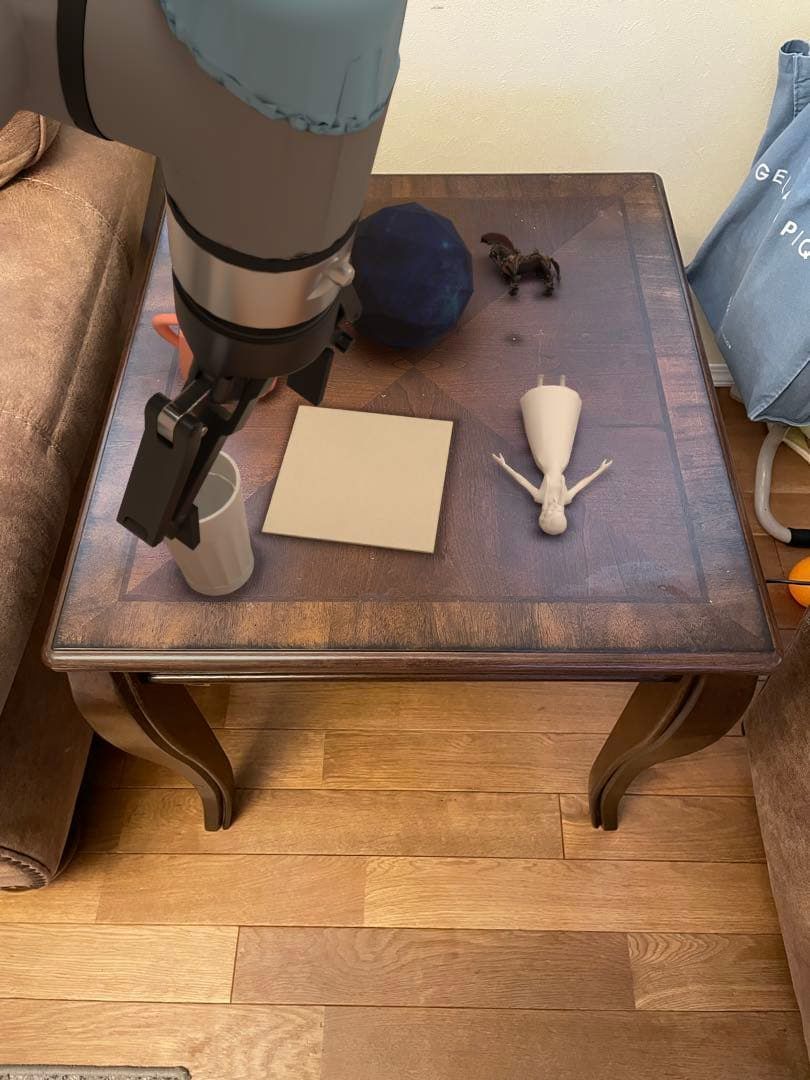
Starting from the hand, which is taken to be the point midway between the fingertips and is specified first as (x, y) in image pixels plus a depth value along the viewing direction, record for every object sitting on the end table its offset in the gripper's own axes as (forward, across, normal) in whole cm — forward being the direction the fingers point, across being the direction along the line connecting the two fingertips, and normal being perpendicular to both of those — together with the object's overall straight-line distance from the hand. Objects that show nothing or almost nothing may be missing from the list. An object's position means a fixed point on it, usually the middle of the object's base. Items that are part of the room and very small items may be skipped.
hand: (245, 460), depth 54 cm
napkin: (+20, +13, -5) cm, 24 cm away
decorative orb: (+24, +33, +2) cm, 41 cm away
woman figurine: (+16, +24, -19) cm, 35 cm away
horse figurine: (+23, +45, -6) cm, 51 cm away
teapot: (+27, +16, +13) cm, 34 cm away
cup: (+20, -2, 0) cm, 20 cm away
